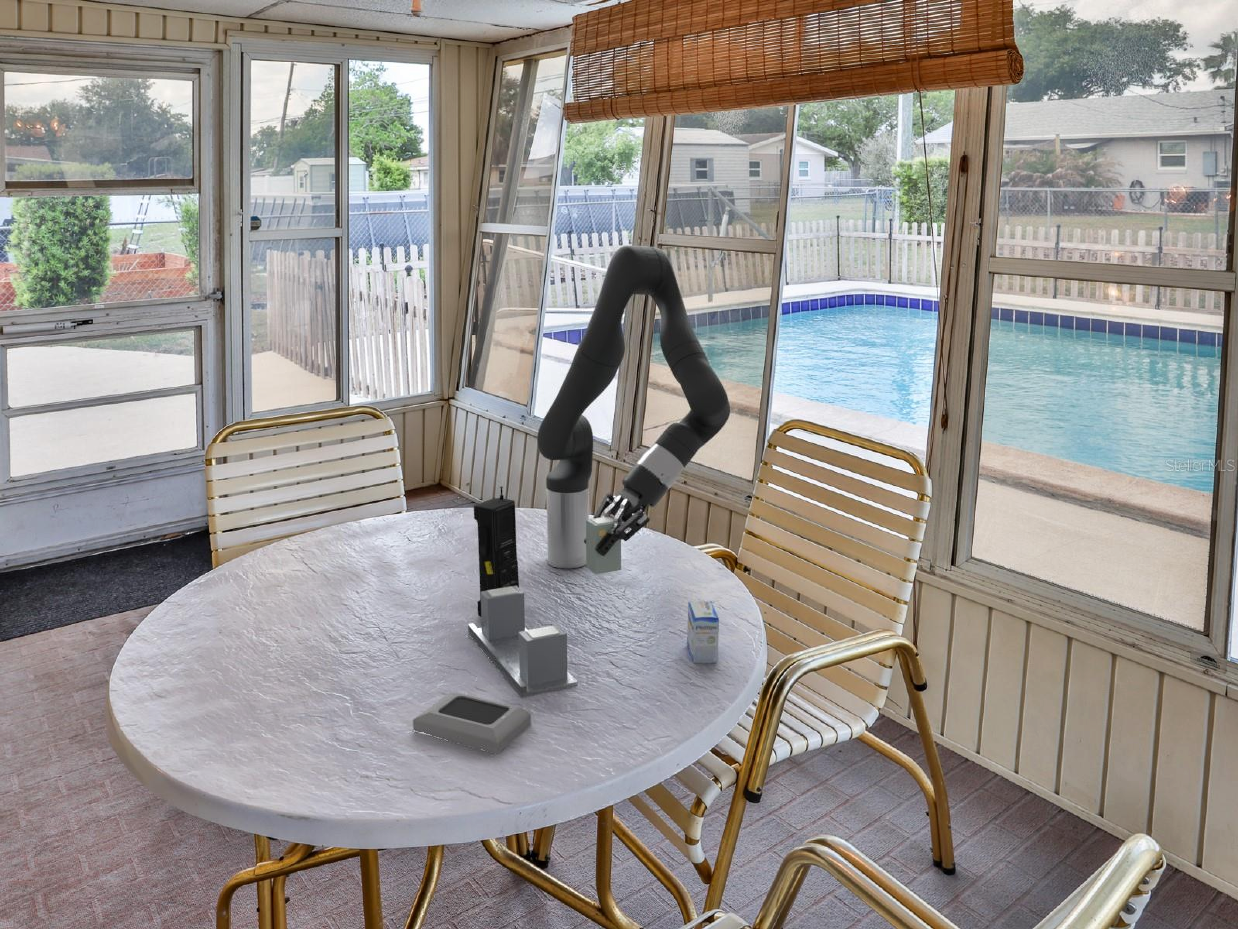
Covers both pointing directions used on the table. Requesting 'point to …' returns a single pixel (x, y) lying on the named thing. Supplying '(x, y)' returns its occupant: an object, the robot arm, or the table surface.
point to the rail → (514, 664)
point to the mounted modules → (525, 635)
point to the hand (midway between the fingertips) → (593, 548)
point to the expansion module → (593, 536)
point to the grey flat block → (473, 722)
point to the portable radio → (496, 544)
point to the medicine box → (702, 632)
